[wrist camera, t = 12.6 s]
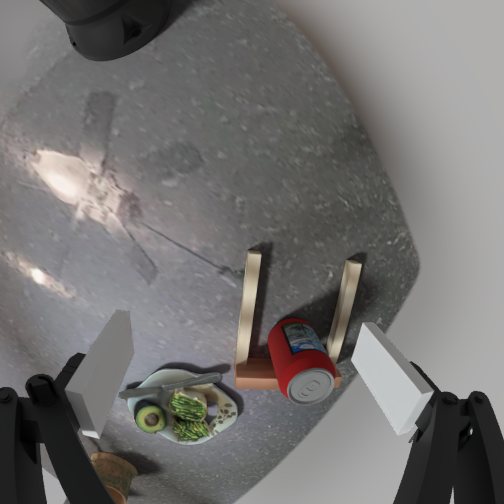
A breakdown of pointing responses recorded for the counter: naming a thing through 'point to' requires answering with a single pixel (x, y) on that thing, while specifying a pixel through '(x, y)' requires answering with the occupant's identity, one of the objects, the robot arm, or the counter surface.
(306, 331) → the beverage can
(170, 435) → the avocado toast plate
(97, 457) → the mug
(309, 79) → the counter surface
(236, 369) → the guide channel
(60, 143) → the counter surface
